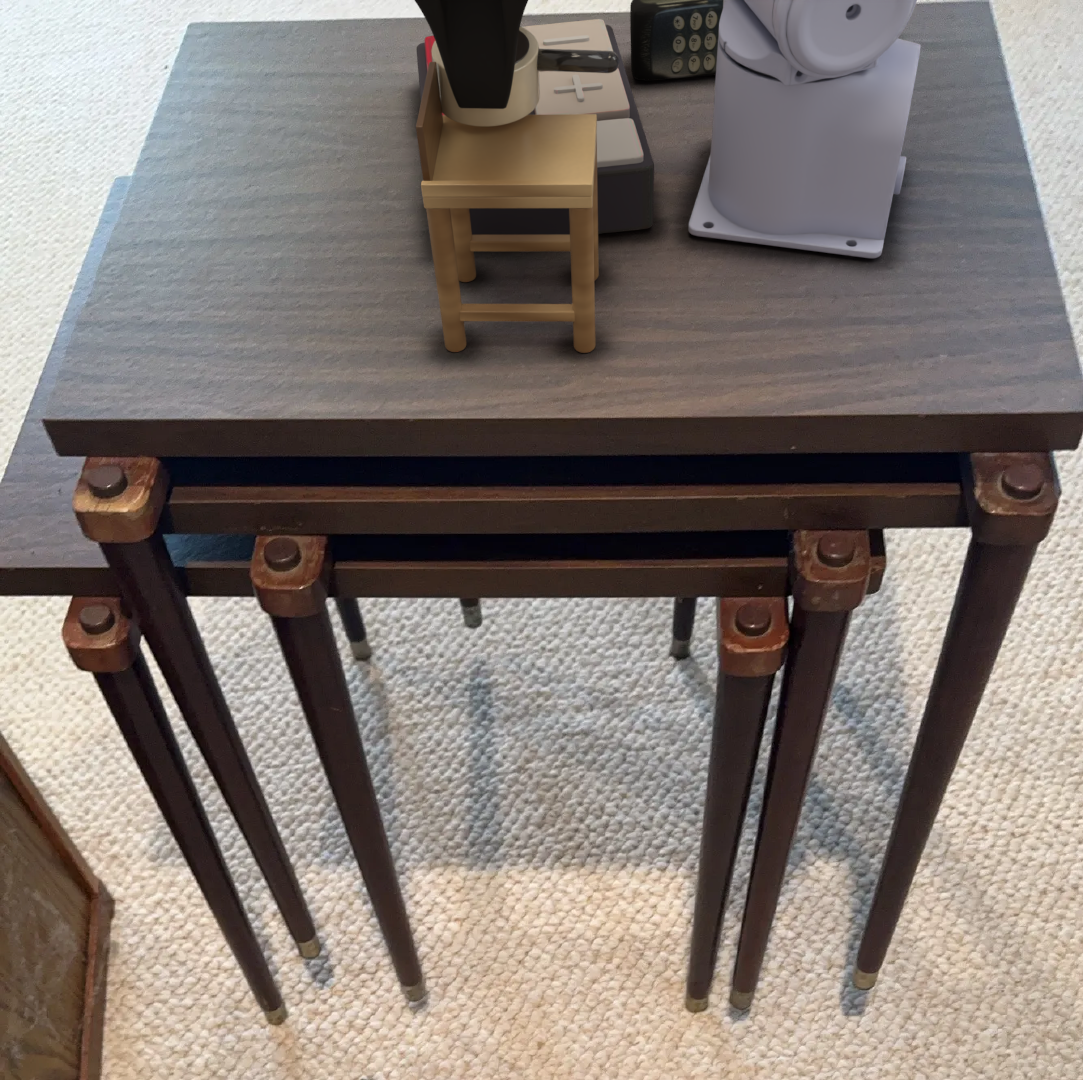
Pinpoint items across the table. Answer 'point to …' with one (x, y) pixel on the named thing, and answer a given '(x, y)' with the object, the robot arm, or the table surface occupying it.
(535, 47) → the pan
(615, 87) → the calculator
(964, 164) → the table surface
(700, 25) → the mobile phone
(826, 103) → the robot arm
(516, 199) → the wooden l-shaped block
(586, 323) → the stand
